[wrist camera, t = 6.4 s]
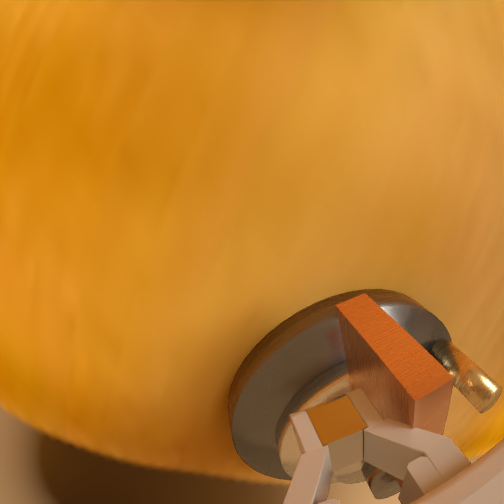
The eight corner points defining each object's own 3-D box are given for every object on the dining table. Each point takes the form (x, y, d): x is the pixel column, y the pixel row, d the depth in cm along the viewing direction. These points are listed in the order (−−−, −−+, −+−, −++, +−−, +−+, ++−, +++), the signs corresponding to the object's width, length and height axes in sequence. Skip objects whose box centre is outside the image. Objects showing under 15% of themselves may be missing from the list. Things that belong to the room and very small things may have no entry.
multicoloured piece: (423, 424, 17) (470, 488, 11) (294, 482, 17) (322, 562, 10) (427, 243, 13) (544, 306, 6) (219, 325, 12) (243, 471, 6)
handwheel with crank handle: (450, 268, 16) (543, 324, 9) (413, 425, 21) (457, 487, 14) (208, 317, 14) (221, 446, 7) (243, 475, 19) (261, 560, 12)
